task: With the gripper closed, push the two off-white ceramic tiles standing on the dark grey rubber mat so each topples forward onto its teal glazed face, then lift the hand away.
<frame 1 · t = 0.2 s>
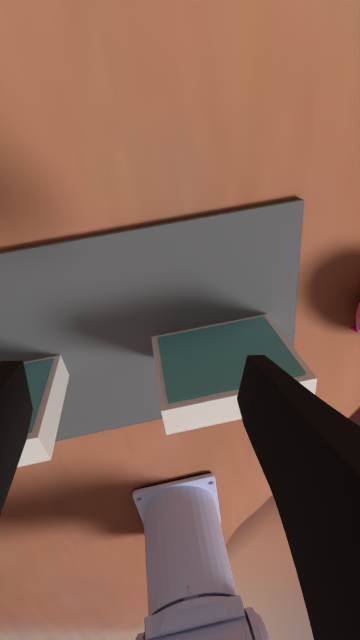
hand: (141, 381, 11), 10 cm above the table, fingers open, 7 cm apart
tile 2: (4, 377, 21), resting on mat
tile 1: (211, 336, 22), resting on mat
mat: (108, 347, 21), on the table
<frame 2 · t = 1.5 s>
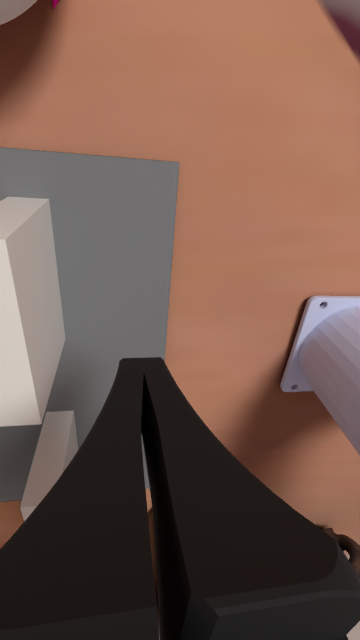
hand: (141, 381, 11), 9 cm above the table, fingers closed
tile 2: (65, 449, 24), resting on mat
tile 1: (40, 276, 17), resting on mat
brown curved piece: (300, 533, 39), on the table
supplement bottle: (182, 508, 32), on the table
mat: (48, 374, 21), on the table
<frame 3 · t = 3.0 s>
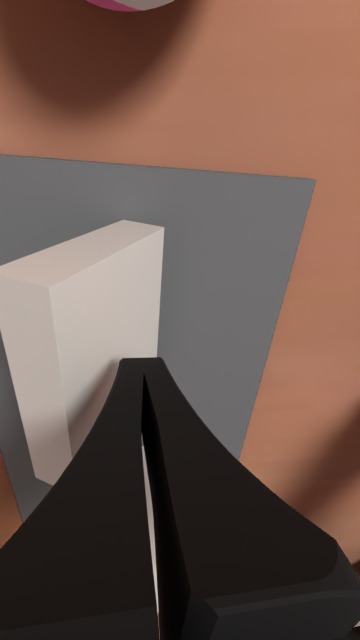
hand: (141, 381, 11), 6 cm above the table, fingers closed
tile 2: (138, 484, 22), resting on mat
tile 1: (141, 311, 15), point 1 cm above the table, tilted 29°, touching mat
mat: (131, 407, 19), on the table
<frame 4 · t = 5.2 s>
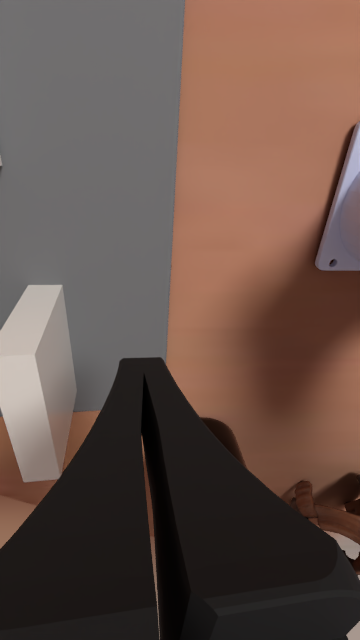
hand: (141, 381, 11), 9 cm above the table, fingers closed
tile 2: (55, 343, 20), resting on mat
brown curved piece: (331, 484, 35), on the table
supplement bottle: (195, 440, 27), on the table
mat: (28, 228, 16), on the table
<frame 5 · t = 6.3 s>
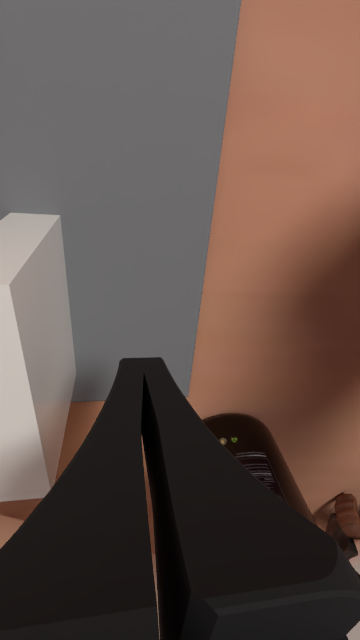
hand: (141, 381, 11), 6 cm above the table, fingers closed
tile 2: (48, 305, 14), resting on mat
supplement bottle: (221, 441, 22), on the table
mat: (10, 121, 11), on the table
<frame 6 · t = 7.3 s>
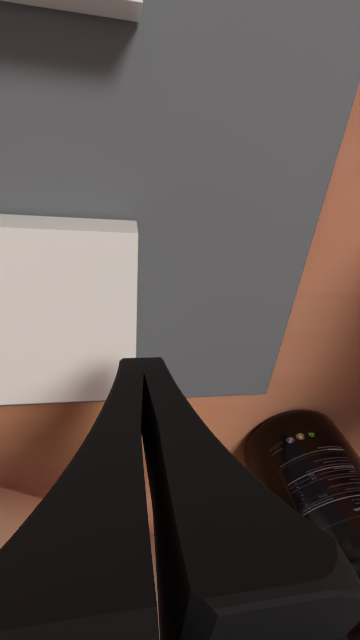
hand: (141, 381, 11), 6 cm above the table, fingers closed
tile 2: (135, 317, 14), point 1 cm above the table, tilted 90°, touching mat
supplement bottle: (286, 437, 23), on the table
mat: (150, 135, 12), on the table
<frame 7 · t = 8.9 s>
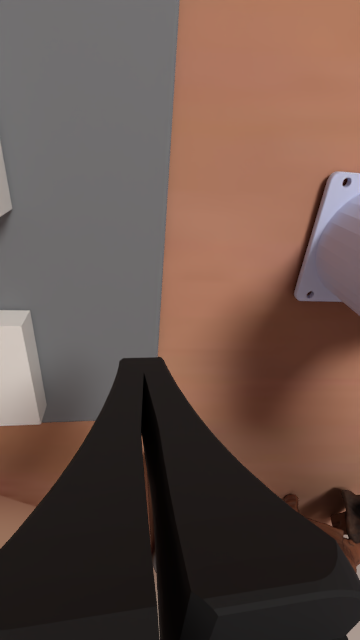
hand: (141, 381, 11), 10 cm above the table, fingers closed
tile 2: (35, 370, 21), point 1 cm above the table, tilted 90°, touching mat
brown curved piece: (317, 497, 37), on the table
supplement bottle: (183, 449, 29), on the table
mat: (33, 260, 18), on the table
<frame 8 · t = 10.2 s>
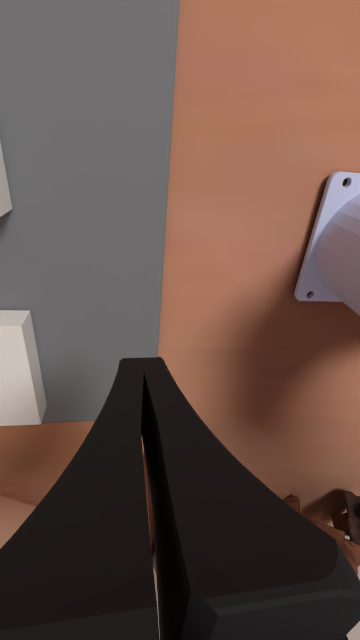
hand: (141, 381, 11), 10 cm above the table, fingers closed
tile 2: (35, 370, 21), point 1 cm above the table, tilted 90°, touching mat
brown curved piece: (319, 498, 37), on the table
supplement bottle: (183, 449, 29), on the table
mat: (33, 260, 18), on the table
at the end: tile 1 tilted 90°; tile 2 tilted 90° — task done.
